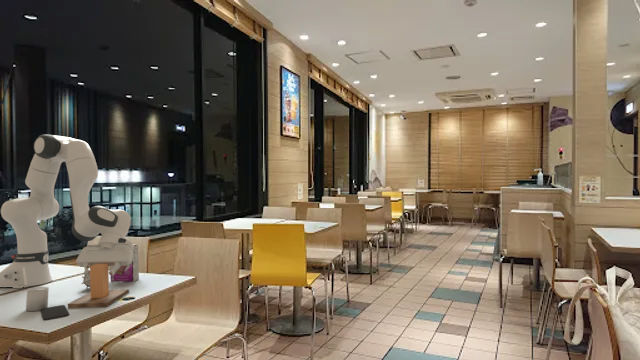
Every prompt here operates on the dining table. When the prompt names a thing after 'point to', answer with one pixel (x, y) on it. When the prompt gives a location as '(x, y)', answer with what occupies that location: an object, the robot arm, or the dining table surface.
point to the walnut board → (98, 299)
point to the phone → (54, 312)
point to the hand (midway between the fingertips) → (98, 274)
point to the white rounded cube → (37, 298)
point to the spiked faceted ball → (86, 281)
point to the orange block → (99, 280)
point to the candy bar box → (128, 269)
